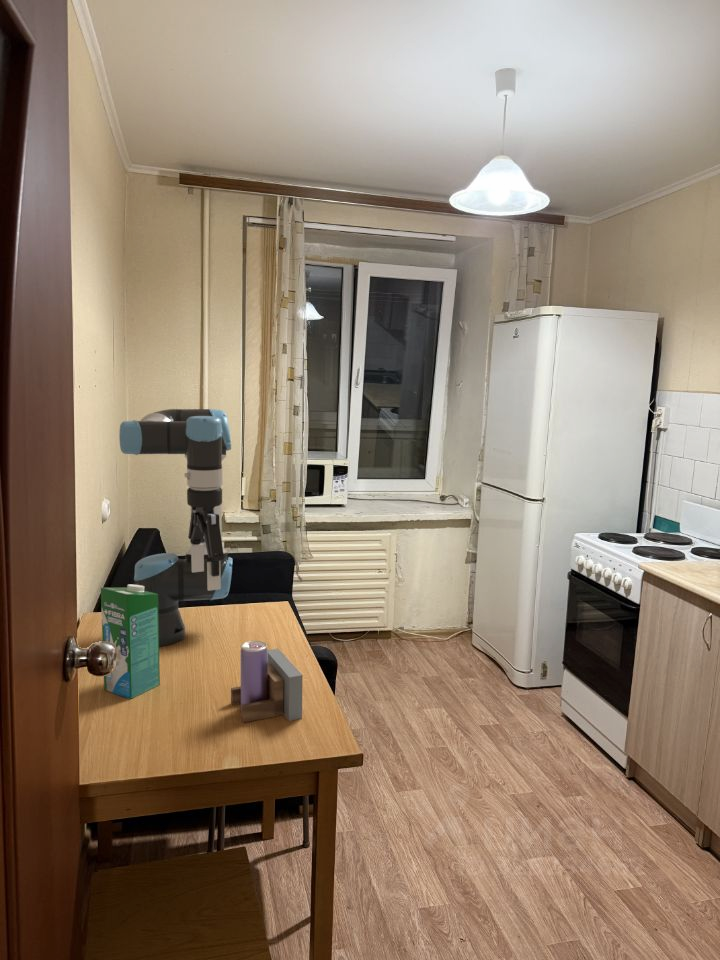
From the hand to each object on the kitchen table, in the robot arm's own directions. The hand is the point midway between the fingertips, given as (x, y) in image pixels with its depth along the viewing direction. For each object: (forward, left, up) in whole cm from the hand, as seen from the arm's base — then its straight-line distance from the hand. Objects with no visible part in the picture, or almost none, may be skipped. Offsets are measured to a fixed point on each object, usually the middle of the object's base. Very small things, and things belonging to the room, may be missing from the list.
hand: (205, 580), depth 154 cm
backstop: (+9, +15, -28) cm, 33 cm away
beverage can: (+9, +8, -29) cm, 31 cm away
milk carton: (-13, -15, -29) cm, 34 cm away
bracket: (+9, +9, -28) cm, 31 cm away
